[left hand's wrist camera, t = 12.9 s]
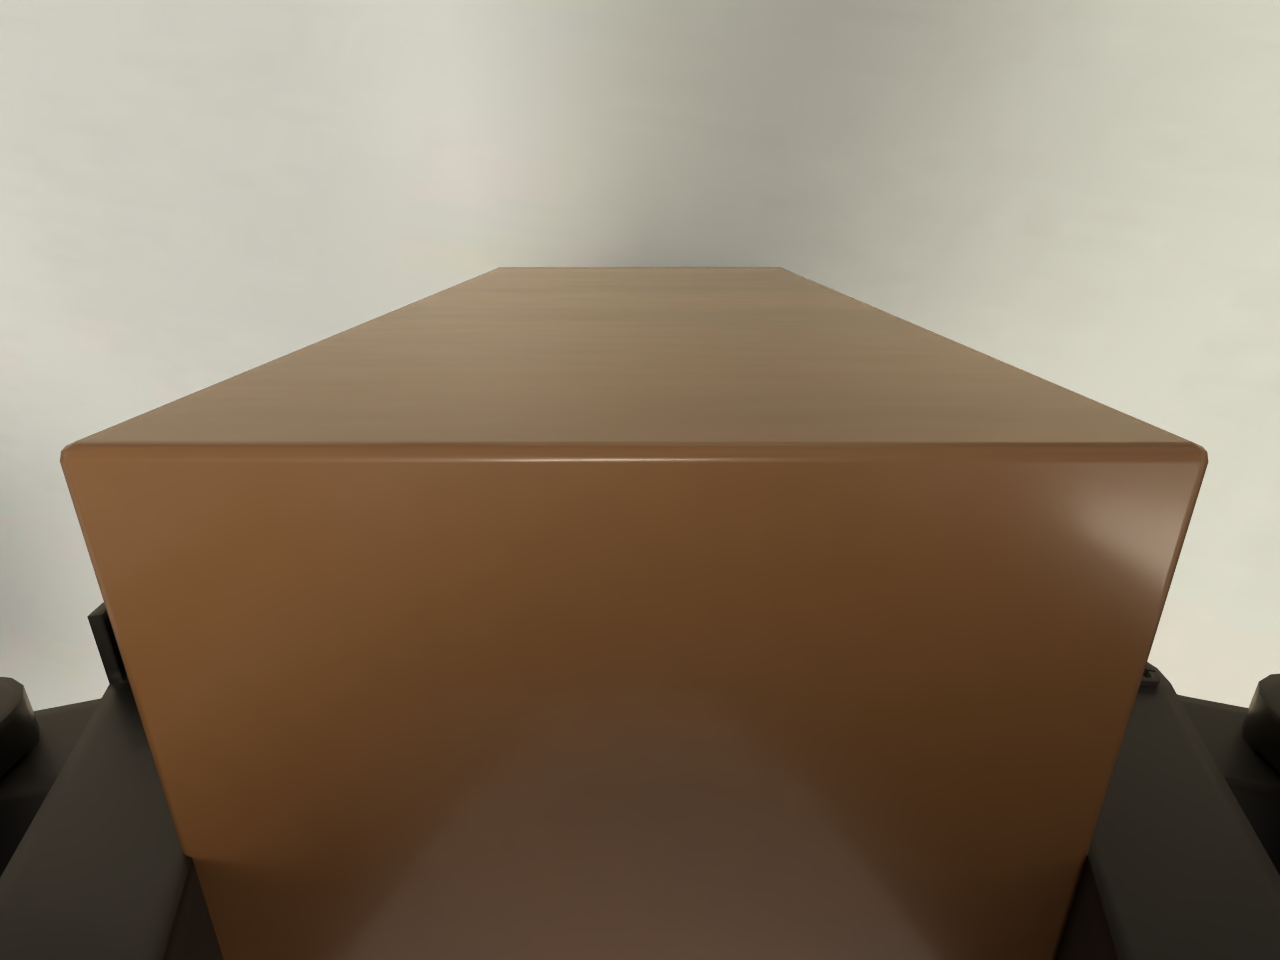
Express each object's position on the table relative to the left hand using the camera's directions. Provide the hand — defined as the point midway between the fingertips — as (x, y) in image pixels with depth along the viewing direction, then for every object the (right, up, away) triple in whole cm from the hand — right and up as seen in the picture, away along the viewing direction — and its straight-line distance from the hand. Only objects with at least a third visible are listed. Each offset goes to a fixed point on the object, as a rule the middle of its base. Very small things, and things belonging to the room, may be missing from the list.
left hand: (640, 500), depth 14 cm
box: (0, -6, +6) cm, 9 cm away
